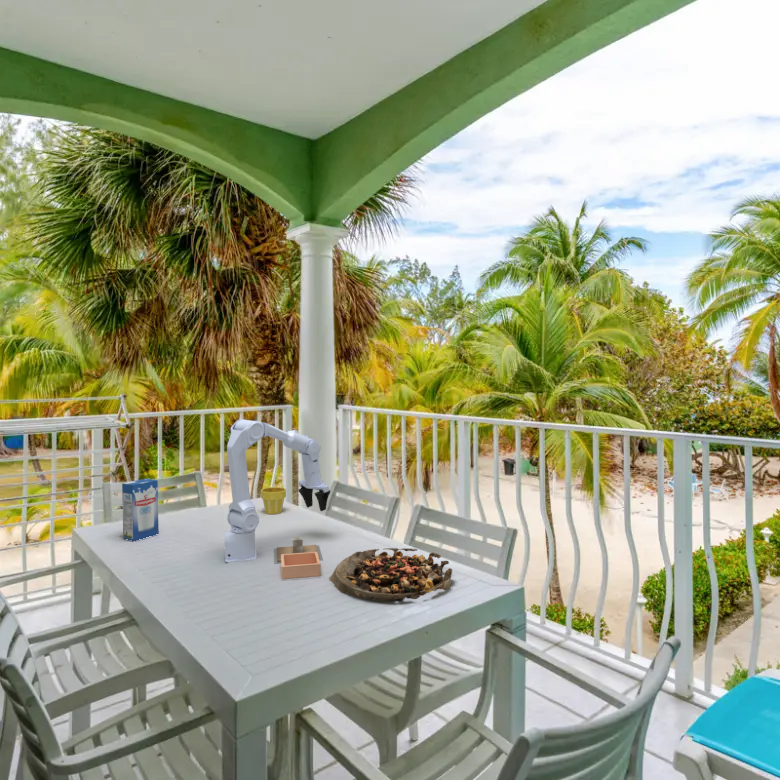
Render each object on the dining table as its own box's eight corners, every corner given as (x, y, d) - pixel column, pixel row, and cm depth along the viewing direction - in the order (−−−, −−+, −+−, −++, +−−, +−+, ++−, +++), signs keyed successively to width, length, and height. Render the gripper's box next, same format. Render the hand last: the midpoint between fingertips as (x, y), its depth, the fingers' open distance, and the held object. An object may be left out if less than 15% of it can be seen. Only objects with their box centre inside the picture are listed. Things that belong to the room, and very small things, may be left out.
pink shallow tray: (281, 580, 158) (281, 566, 158) (281, 567, 169) (280, 554, 169) (320, 577, 161) (320, 563, 161) (317, 564, 171) (317, 551, 171)
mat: (274, 565, 171) (274, 563, 171) (273, 549, 185) (273, 548, 185) (323, 561, 174) (323, 560, 174) (318, 546, 188) (318, 545, 188)
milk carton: (133, 541, 194) (132, 485, 193) (123, 539, 198) (121, 483, 197) (158, 534, 203) (157, 480, 202) (148, 532, 206) (147, 478, 205)
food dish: (469, 576, 165) (470, 550, 164) (417, 622, 136) (418, 591, 136) (370, 552, 183) (370, 529, 182) (305, 589, 154) (305, 561, 154)
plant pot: (290, 513, 232) (289, 490, 232) (266, 516, 227) (265, 493, 226) (280, 508, 241) (280, 485, 240) (257, 511, 235) (257, 488, 235)
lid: (277, 562, 172) (277, 546, 172) (276, 549, 184) (276, 534, 184) (319, 559, 175) (319, 543, 174) (316, 546, 187) (316, 531, 187)
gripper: (333, 471, 194) (338, 508, 196) (307, 466, 204) (312, 501, 206) (318, 476, 189) (322, 514, 191) (292, 471, 199) (297, 507, 201)
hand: (316, 508), depth 198 cm, fingers open, 7 cm apart
